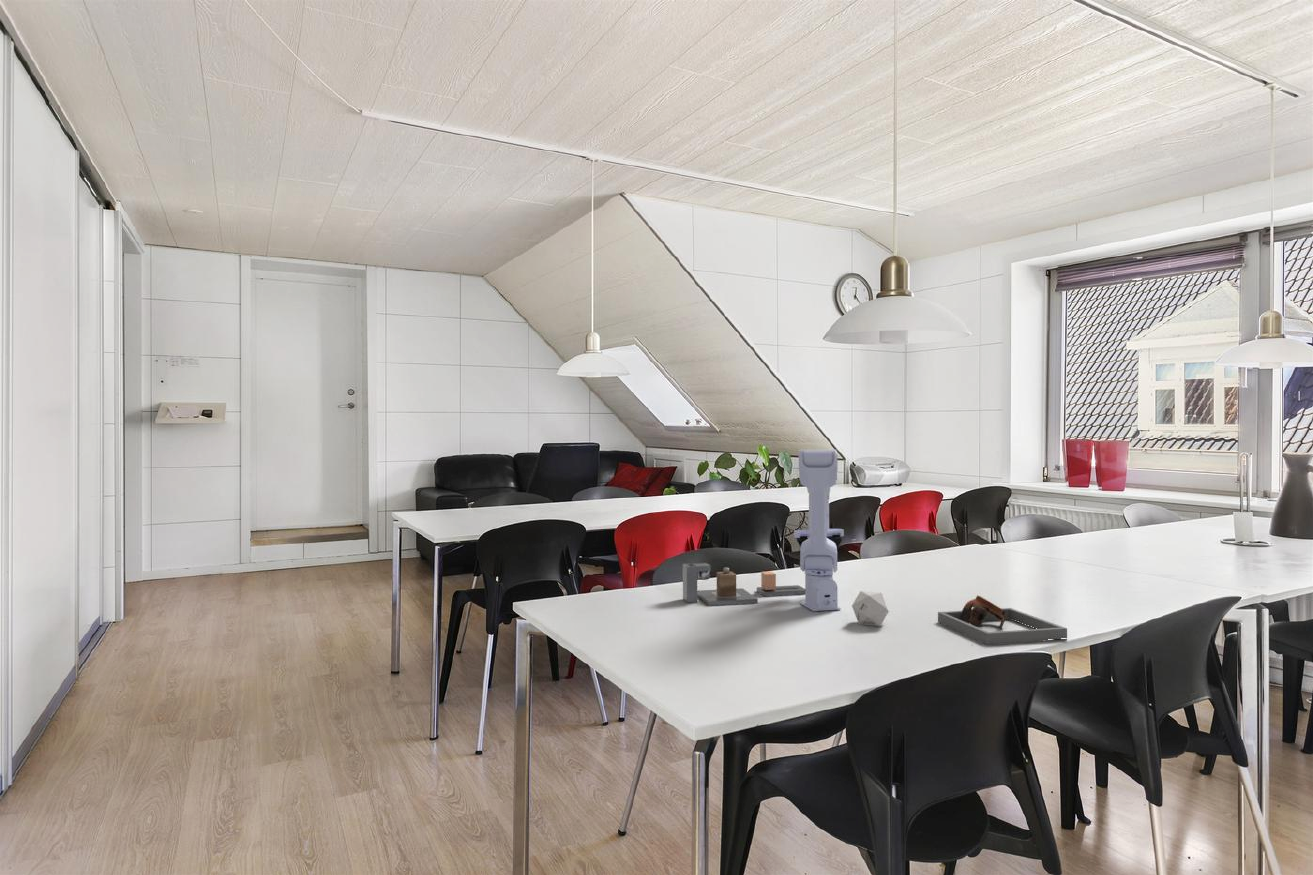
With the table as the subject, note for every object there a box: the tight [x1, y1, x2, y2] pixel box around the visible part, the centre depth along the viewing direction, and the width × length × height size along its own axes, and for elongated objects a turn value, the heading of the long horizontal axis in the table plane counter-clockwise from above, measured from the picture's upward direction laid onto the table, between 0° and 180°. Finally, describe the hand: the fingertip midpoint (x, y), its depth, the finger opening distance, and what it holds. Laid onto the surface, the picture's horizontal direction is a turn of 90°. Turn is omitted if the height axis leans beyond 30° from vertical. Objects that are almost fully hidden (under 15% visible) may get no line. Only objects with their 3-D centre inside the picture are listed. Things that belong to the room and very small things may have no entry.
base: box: [756, 584, 805, 597], centre depth 223 cm, size 7×13×1 cm, turn 101°
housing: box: [716, 567, 737, 597], centre depth 215 cm, size 4×4×8 cm
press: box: [682, 562, 759, 607], centre depth 215 cm, size 14×19×10 cm
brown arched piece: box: [960, 595, 1005, 629], centre depth 183 cm, size 12×10×8 cm
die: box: [851, 590, 889, 627], centre depth 187 cm, size 8×9×10 cm
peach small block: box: [760, 571, 777, 590], centre depth 222 cm, size 4×3×4 cm
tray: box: [937, 607, 1068, 646], centre depth 180 cm, size 20×20×2 cm
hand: (819, 561), depth 220 cm, fingers open, 7 cm apart
